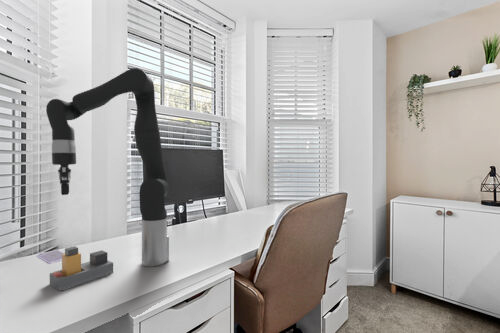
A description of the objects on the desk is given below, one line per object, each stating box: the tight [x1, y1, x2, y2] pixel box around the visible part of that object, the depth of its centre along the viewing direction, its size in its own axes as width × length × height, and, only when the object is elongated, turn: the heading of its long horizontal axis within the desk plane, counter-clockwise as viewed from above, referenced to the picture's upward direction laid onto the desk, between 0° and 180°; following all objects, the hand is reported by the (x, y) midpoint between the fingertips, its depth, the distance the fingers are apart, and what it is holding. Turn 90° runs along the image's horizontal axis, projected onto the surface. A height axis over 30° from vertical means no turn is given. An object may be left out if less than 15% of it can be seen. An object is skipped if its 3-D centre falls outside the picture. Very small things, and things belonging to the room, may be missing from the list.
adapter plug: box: [61, 246, 82, 277], centre depth 82 cm, size 4×4×10 cm
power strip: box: [49, 250, 114, 292], centre depth 85 cm, size 16×8×7 cm, turn 146°
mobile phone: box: [36, 249, 65, 264], centre depth 105 cm, size 8×1×15 cm
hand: (65, 193), depth 98 cm, fingers open, 8 cm apart
